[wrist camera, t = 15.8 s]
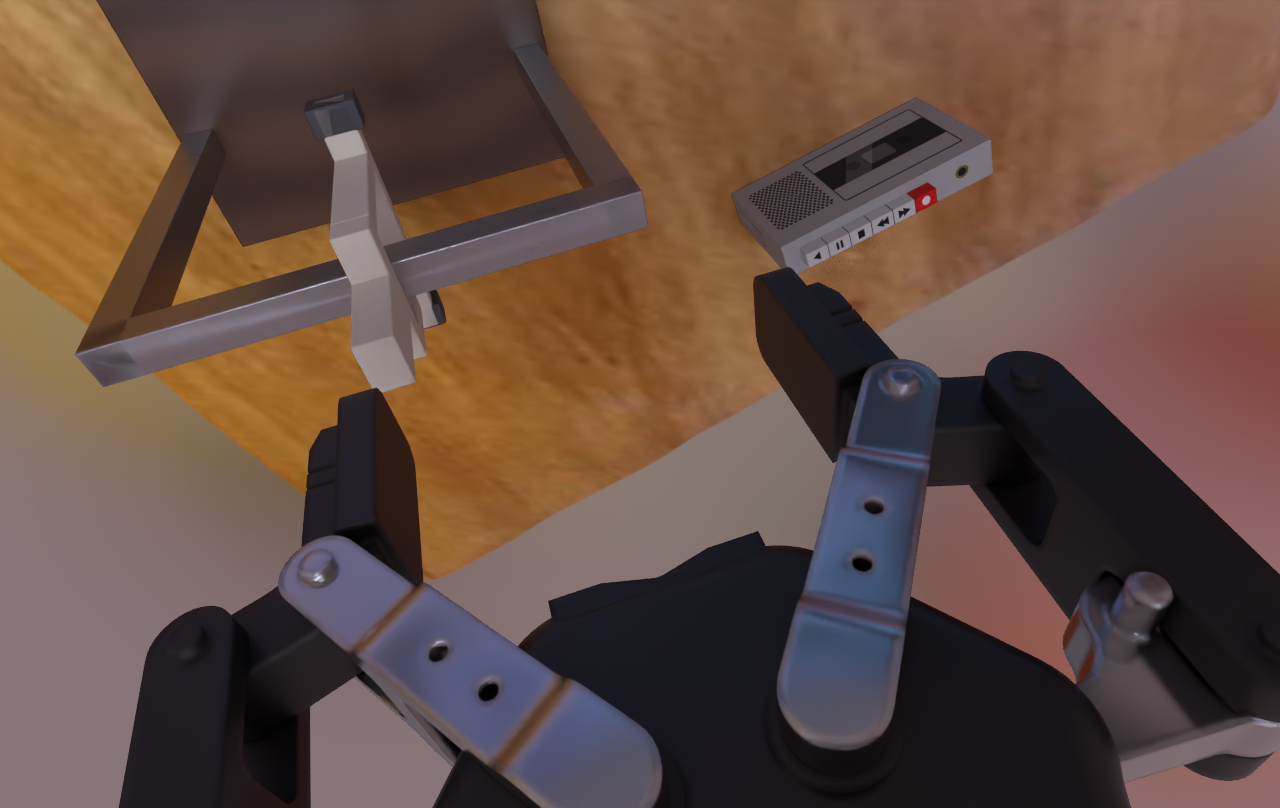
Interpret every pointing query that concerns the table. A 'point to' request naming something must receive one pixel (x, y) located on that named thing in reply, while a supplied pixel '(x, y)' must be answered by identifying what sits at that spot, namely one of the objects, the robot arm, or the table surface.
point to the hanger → (370, 250)
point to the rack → (304, 168)
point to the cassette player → (862, 184)
